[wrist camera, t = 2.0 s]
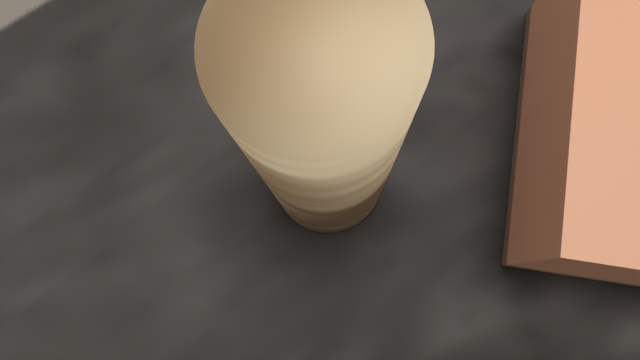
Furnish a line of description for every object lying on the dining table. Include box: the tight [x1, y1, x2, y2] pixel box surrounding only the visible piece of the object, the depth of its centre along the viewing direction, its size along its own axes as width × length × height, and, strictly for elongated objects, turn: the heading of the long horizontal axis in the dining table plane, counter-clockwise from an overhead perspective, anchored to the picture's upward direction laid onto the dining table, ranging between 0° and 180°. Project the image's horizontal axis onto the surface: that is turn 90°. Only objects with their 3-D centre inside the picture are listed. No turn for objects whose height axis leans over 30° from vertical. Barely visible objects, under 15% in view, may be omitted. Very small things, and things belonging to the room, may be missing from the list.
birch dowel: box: [194, 0, 435, 233], centre depth 15 cm, size 4×4×12 cm
